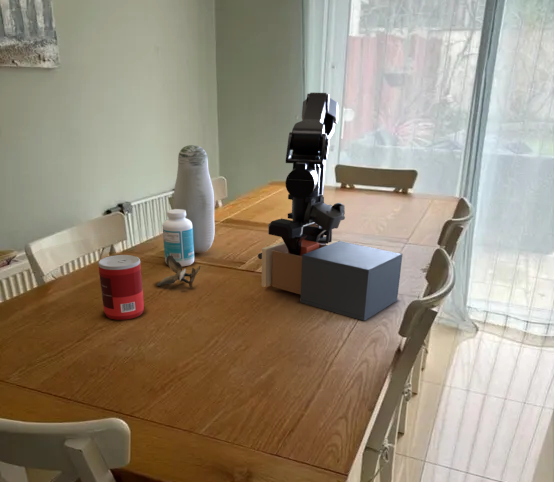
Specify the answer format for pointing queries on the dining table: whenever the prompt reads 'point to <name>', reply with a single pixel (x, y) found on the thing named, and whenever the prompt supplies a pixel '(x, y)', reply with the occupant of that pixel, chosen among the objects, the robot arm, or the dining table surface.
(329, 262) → the dark grey rectangular block
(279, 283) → the drawer
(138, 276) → the canned food
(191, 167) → the white tall rounded cylinder
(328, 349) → the dining table surface
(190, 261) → the pill bottle
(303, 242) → the block
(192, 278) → the eagle figurine
